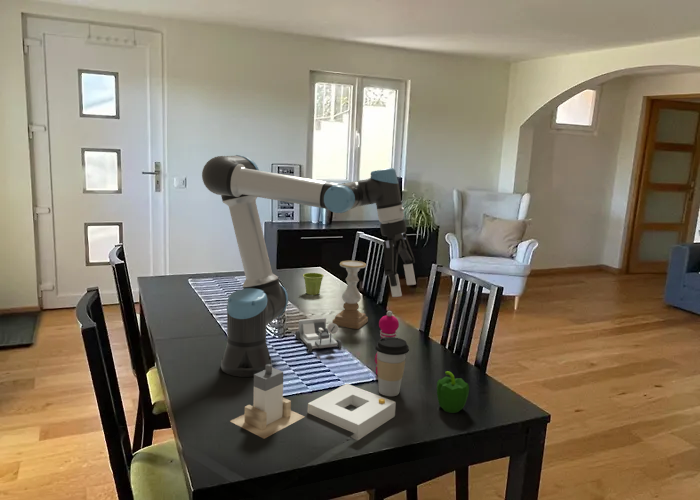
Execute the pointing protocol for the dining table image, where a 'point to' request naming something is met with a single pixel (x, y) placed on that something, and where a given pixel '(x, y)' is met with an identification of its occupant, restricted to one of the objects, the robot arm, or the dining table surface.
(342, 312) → the candle holder
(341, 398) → the port block
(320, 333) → the grey mechanical device
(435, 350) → the dining table surface
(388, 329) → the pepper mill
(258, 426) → the plate with raised blocks
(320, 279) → the plant pot
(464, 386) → the bell pepper
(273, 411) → the plug
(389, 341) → the coffee cup
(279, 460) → the dining table surface
